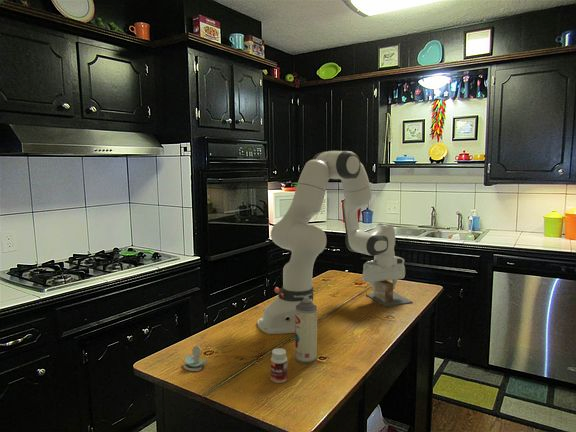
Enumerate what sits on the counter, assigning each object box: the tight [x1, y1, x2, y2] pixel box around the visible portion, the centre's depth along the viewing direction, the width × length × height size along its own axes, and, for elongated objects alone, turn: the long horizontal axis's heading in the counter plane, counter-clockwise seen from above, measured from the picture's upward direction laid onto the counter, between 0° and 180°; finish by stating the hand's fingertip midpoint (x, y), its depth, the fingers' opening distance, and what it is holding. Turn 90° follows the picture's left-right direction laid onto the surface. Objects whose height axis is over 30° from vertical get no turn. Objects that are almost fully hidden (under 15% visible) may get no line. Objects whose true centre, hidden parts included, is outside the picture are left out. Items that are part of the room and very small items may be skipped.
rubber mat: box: [365, 291, 414, 308], centre depth 187 cm, size 14×16×1 cm
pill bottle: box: [270, 347, 288, 384], centre depth 118 cm, size 5×5×8 cm
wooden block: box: [373, 280, 394, 302], centre depth 186 cm, size 4×9×8 cm, turn 20°
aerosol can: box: [294, 296, 318, 365], centre depth 129 cm, size 7×7×20 cm
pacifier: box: [183, 345, 208, 372], centre depth 125 cm, size 7×6×6 cm
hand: (383, 289), depth 186 cm, fingers open, 8 cm apart
